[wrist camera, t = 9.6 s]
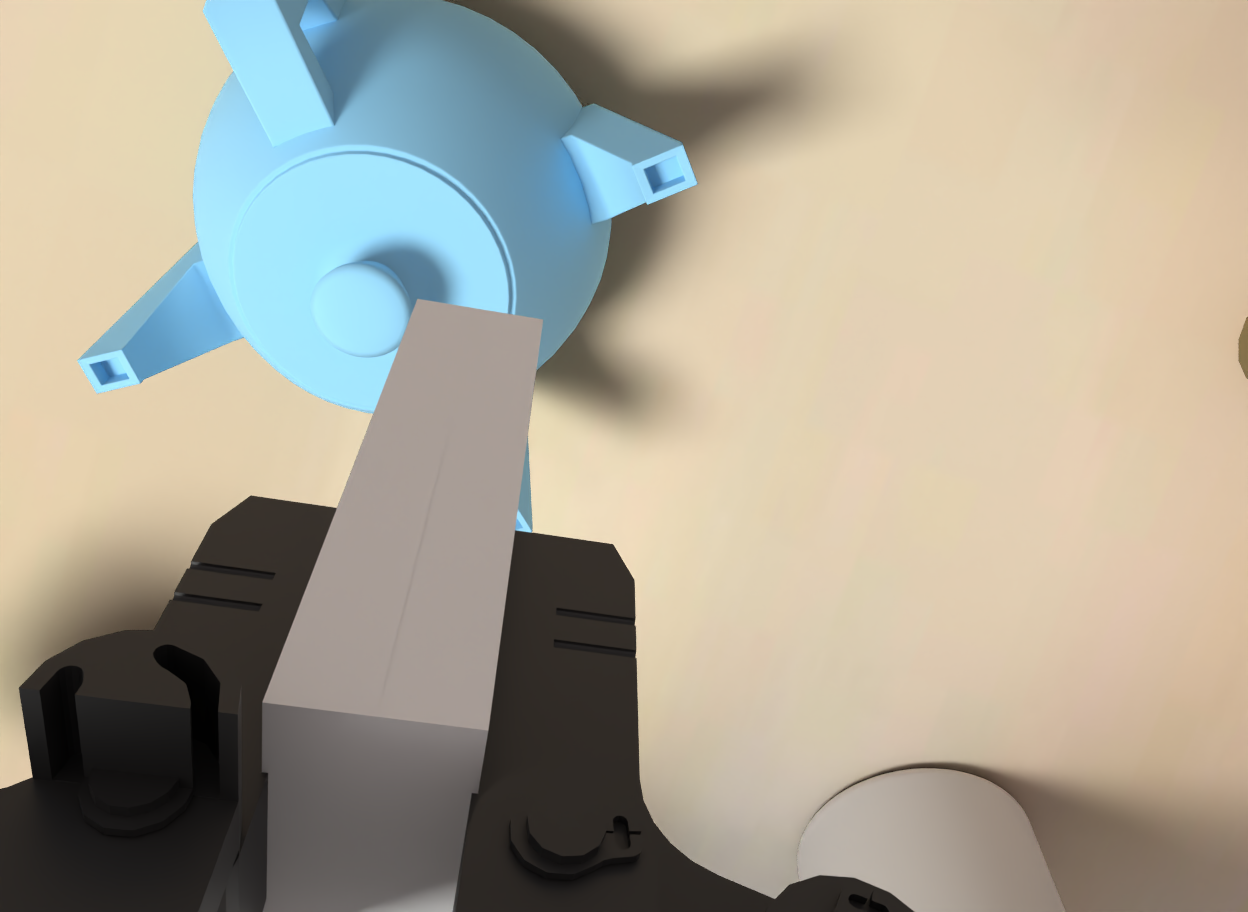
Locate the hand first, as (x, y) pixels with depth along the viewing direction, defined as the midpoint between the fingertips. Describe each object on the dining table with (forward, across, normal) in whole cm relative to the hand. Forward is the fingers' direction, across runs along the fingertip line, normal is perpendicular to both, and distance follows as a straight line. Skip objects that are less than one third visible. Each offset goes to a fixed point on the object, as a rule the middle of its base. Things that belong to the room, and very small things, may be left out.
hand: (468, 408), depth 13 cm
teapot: (+27, +4, +7) cm, 28 cm away
